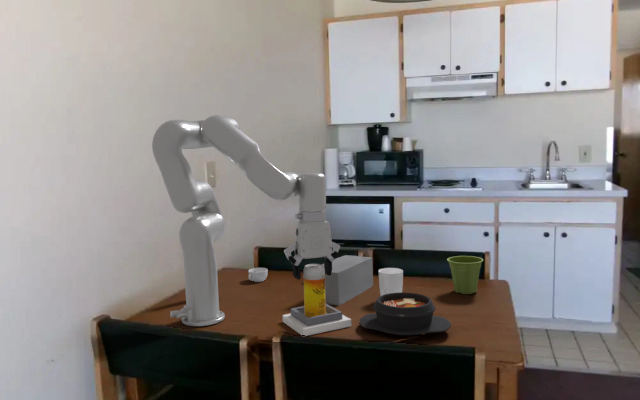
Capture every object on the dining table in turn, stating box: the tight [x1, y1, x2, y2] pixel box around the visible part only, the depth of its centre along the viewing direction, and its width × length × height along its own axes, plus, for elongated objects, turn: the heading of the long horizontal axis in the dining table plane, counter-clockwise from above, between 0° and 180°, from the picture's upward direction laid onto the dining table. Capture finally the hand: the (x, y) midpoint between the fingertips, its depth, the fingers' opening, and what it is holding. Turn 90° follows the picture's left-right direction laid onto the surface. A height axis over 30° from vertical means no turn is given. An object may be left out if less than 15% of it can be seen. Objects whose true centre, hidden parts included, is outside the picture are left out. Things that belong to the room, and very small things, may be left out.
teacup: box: [248, 267, 269, 283], centre depth 199 cm, size 10×10×5 cm
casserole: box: [358, 291, 452, 337], centre depth 142 cm, size 25×19×8 cm
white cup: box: [377, 267, 404, 297], centre depth 168 cm, size 8×8×10 cm
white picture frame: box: [282, 304, 352, 337], centre depth 148 cm, size 15×14×4 cm
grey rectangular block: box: [322, 254, 374, 307], centre depth 181 cm, size 25×23×11 cm
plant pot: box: [446, 255, 484, 295], centre depth 176 cm, size 12×12×11 cm
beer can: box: [303, 263, 326, 317], centre depth 148 cm, size 6×6×15 cm
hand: (312, 276), depth 147 cm, fingers open, 9 cm apart
